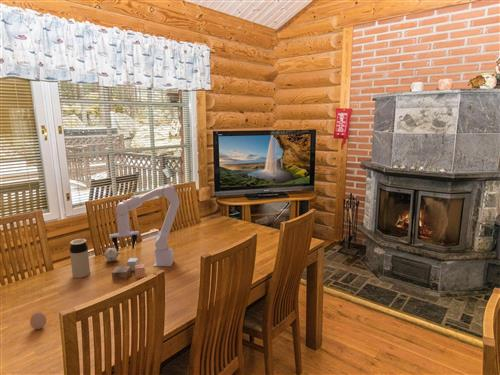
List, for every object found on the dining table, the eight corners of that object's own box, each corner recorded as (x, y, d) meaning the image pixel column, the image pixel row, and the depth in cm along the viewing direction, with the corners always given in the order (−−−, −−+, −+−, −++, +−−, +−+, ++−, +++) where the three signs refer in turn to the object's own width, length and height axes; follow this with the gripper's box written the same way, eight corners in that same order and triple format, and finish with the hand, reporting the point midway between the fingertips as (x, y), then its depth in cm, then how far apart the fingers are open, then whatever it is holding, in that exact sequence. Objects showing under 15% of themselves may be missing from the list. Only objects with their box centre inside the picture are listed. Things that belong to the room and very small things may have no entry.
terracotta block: (145, 272, 173) (144, 263, 172) (144, 276, 169) (144, 267, 168) (135, 274, 172) (135, 264, 171) (135, 277, 167) (134, 268, 166)
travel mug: (93, 272, 173) (90, 239, 169) (81, 279, 165) (77, 244, 162) (81, 270, 175) (78, 237, 172) (68, 277, 168) (65, 242, 164)
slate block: (138, 266, 180) (138, 258, 179) (136, 270, 176) (135, 261, 175) (130, 266, 180) (129, 258, 179) (127, 270, 175) (127, 261, 174)
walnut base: (130, 273, 172) (130, 266, 172) (126, 279, 166) (126, 272, 165) (117, 273, 172) (116, 266, 171) (112, 280, 165) (111, 272, 164)
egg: (27, 330, 125) (25, 314, 123) (40, 323, 129) (38, 307, 128) (37, 333, 123) (35, 317, 122) (50, 326, 128) (48, 309, 126)
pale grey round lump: (113, 268, 186) (111, 259, 179) (100, 262, 187) (98, 252, 180) (123, 256, 192) (122, 246, 185) (110, 249, 193) (108, 240, 186)
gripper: (137, 221, 181) (139, 245, 184) (108, 224, 176) (110, 249, 178) (138, 225, 175) (140, 249, 178) (108, 228, 169) (110, 253, 172)
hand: (125, 249), depth 178 cm, fingers open, 7 cm apart
